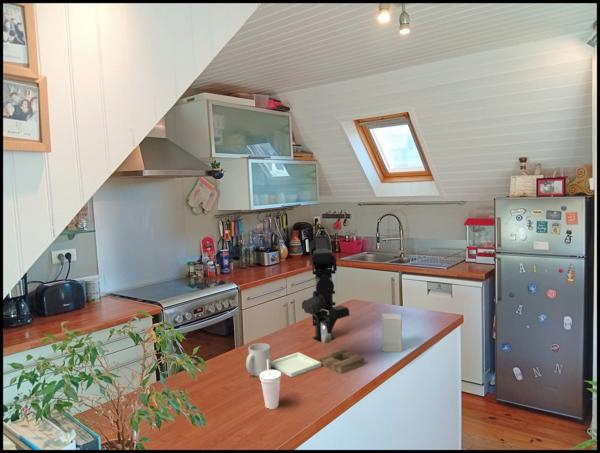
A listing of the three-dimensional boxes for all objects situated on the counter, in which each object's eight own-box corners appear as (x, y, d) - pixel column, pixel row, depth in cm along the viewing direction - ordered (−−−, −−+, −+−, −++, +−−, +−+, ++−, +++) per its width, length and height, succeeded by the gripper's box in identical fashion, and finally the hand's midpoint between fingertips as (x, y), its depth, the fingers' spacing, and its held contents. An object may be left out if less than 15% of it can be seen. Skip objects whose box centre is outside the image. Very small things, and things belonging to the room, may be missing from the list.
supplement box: (402, 352, 170) (401, 319, 168) (381, 351, 171) (381, 318, 170) (401, 345, 177) (401, 313, 176) (382, 344, 178) (381, 312, 177)
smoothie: (260, 401, 137) (258, 356, 135) (282, 399, 137) (280, 354, 136) (260, 412, 130) (258, 364, 129) (283, 410, 131) (281, 363, 129)
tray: (269, 365, 163) (269, 361, 162) (298, 356, 170) (298, 352, 170) (291, 377, 152) (291, 373, 152) (321, 366, 160) (321, 362, 160)
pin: (319, 341, 161) (318, 320, 160) (326, 338, 163) (325, 318, 162) (325, 343, 158) (324, 322, 157) (333, 341, 160) (332, 320, 159)
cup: (275, 370, 159) (273, 345, 158) (255, 381, 151) (254, 355, 150) (259, 366, 163) (258, 341, 162) (239, 376, 155) (238, 351, 154)
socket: (319, 364, 162) (319, 357, 162) (342, 355, 169) (342, 349, 169) (340, 373, 154) (340, 366, 153) (364, 364, 160) (364, 357, 160)
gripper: (289, 288, 161) (291, 331, 162) (324, 297, 146) (326, 345, 148) (313, 282, 167) (314, 324, 169) (349, 291, 153) (351, 336, 155)
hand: (325, 332), depth 160 cm, fingers closed on pin, 3 cm apart
